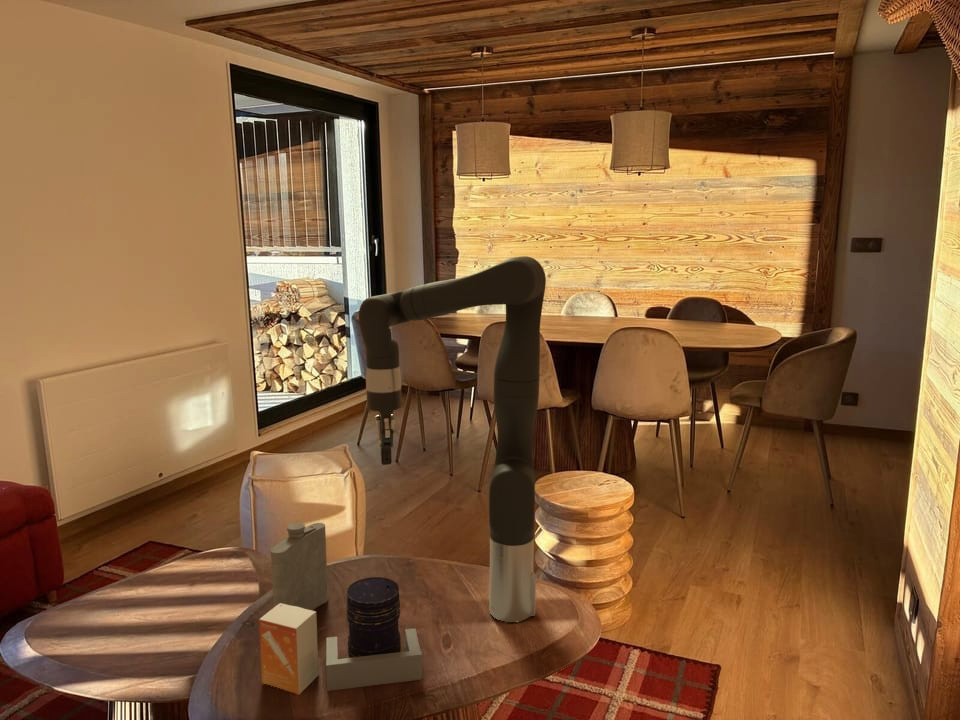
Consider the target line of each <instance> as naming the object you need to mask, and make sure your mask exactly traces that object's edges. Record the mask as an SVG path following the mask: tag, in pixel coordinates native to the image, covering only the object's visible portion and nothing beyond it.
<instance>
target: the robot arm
mask: <svg viewBox="0 0 960 720" xmlns="http://www.w3.org/2000/svg"><path fill="white" fill-rule="evenodd" d="M546 285H547V279H546V272H545V269H544V267H543V266H542V264H541V262H539V261H538V260H537V259H535V258H533V257H531V256H525V255H524V256H523V255H522V256H515V257H509V258H506V259H504V260H502V261H501V262H500V263H497V264H495V265H493V266H490V267H488V268H486V269H483V270H481V271H479V272H476V273H473V274H469V275H465V276H463V277H458V278H451V279H444V280H439V281H434V282H428V283H425V284H420V285H417V286H413V287H409V288H407V289H405V290H401V291H400V290H399V291H395V292H394V291H393V292H389V293H385V294H380V295H379V294H378V295H374V296H373V295H372V296H369V297H367V298H365V299H363V301H362V302H361V303H360V306H359V311H358V324H359V329H360V333H361V335H362V340H363V342H364V346H365V349H366V351H365V354H366V355H365V357H366V373H365V388H366V391H365V392H366V408H367V410H369V411H370V412H378V413H377V415H375V416H374V418H375V419H374V420H375V424H376V434H377V438H378V441H379V443H378V445H379V448H380V462H381V465H383V466H385V465H387V466H388V465H391V464H392V462H393V461H392V459H393V458H392V448H393V447H394V438H395V430H394V428H395V425H396V424H395V423H396V422H395V421H396V420H395V419H396V418H395V417H394V414H391V413H392V412H394V411H398V410H400V409H401V408H402V399H403V397H402V375H401V370H400V369H401V368H400V348H399V344H398V342H397V341H396V340H395V339H393V338H392V337H391V333H390V327H393V326H398V325H400V324H404V323H408V322H411V321H413V322H414V321H422V320H427V319H432V318H437V317H440V316H444V315H448V314H451V313H452V314H453V313H455V312H458V311H462V310H465V309H470V308H475V307H482V306H496V305H499V306H500V305H505V325H504V331H503V334H502V338H501V341H500V345H499V348H498V352H497V356H496V359H495V365H494V373H493V406H494V407H493V408H494V416H495V422H496V430H497V439H496V440H497V444H496V451H495V459H494V460H495V461H494V465H493V470H492V474H491V478H490V482H489V491H488V492H489V493H488V498H489V499H488V509H489V510H488V512H489V514H488V517H489V521H488V522H489V523H488V525H489V587H488V588H489V590H488V591H489V593H488V595H489V597H488V599H489V600H488V606H489V607H488V608H489V610H488V611H490V612H489V615H490V614H491V615H492V616H493V617H494V618H493V617H492V616H491V615H490V616H491V617H492V618H493V619H495V618H496V619H497V621H499V620H501V621H500V622H502V621H505V622H504V623H507V622H516V621H521V620H524V619H526V618H527V617H529V616H531V615H535V616H536V599H537V598H536V595H537V594H536V587H537V575H536V572H535V571H534V556H535V555H534V545H535V544H534V543H535V542H534V541H535V538H534V537H535V508H536V507H535V503H536V501H535V500H536V497H535V496H536V476H535V469H534V466H535V465H534V453H533V452H534V451H533V450H534V449H533V433H534V427H535V424H536V419H537V412H538V405H539V396H540V395H539V394H540V378H541V377H540V365H541V364H540V362H541V361H540V357H541V346H540V345H541V336H540V335H541V329H540V328H541V319H542V318H541V317H542V312H543V303H544V298H545V292H546V291H545V290H546ZM496 619H495V620H496Z"/></svg>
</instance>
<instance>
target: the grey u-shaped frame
mask: <svg viewBox="0 0 960 720" xmlns="http://www.w3.org/2000/svg"><path fill="white" fill-rule="evenodd" d="M404 634H405V636H404V640H405V642H404V643H405V644H404V645H405V651H400V652H397V653H388V654H379V655H370V656H362V657H353V658H349V657H346V658H339V654H338V651H339V649H338V636H330V637H326V652H325V653H326V660H325V666H326V668H325V670H326V691H327V692H328V691H338V690H343V689H353V688H354V689H355V688H361V687H362V688H363V687H368V686H369V687H370V686H378V685H379V686H380V685H385V684H393V683H395V684H397V683H403V682H404V683H405V682H411V681H419V680H423V654H422V653H423V652H422V649H420V648H421V647H420V643H419V639H418V634H417V630H416V628H405V629H404Z"/></svg>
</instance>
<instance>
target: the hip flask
mask: <svg viewBox="0 0 960 720" xmlns="http://www.w3.org/2000/svg"><path fill="white" fill-rule="evenodd" d="M286 531H287V532H288V536H286V537H284V538H283V539H282V540H281V541H279V542H278V543H276V545H274V546H273V547H272V548H270V565H271V581H272V583H271V584H272V587H271V588H272V604H273V608H274V607H275V606H277V605H278V604H280V603H282V604H286V605H291V606H297V607H301V608H304V609H308V610H312V611H315V610H316V609H317V608H318V607H321V606H322V605H323V604H326V603H327V602H328V600H329V597H328V596H329V591H328V569H327V568H328V567H327V566H328V565H327V543H326V542H327V538H326V537H327V535H326V534H327V533H326V524H325V523H323V522H316V523H315V522H314V523H312V524H309V525H307V526H306V525H305V523H303V522H299V521H298V522H292V523H289V524H288V525H287V526H286Z"/></svg>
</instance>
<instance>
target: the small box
mask: <svg viewBox="0 0 960 720" xmlns="http://www.w3.org/2000/svg"><path fill="white" fill-rule="evenodd" d="M258 620H259V621H258V622H259V643H260V647H259V648H260V665H261V666H260V667H261V684H262V683H264V684H268V685H271V686H270V687H272V686H274V687H273V688H275V687H277V688H276V689H279V688H280V689H279V690H282V689H283V691H286V692H289V693H293V694H295V695H301V694H302V692H303V691H304V690H305V689H307V688H308V687H309V685H310V684H311V683H312V682H314V680H315V679H316V678H317V677H318V676H319V653H318V652H319V651H318V650H319V648H318V626H317V624H318V623H317V622H318V621H317V611H315V610H308V609H304V608H301V607H297V606H291V605H286V604H282V603H280V604H278V605H277V606H275V607H273V608H272V609H270V610H269V611H268V612H267V613H265V614H264V615H263V616H261V617H260V618H259V619H258ZM264 684H263V685H264ZM268 685H267V686H268Z"/></svg>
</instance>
